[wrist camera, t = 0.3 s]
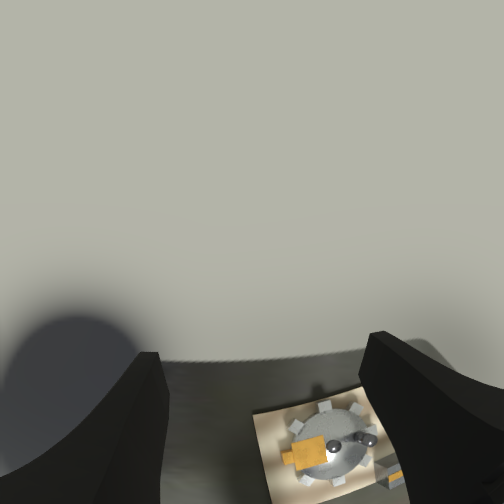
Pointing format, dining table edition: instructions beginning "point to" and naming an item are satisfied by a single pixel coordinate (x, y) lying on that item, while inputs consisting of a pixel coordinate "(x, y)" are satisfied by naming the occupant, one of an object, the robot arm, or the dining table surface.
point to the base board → (285, 476)
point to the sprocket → (330, 443)
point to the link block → (388, 471)
